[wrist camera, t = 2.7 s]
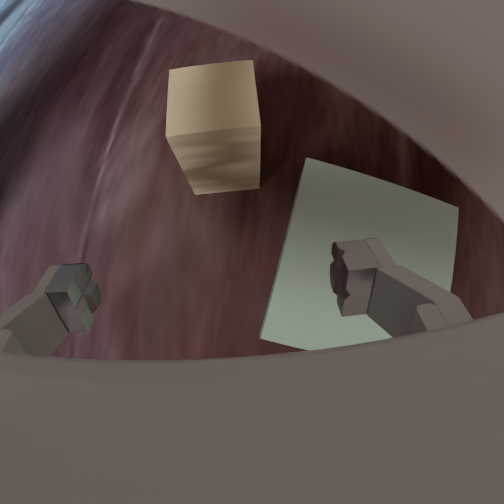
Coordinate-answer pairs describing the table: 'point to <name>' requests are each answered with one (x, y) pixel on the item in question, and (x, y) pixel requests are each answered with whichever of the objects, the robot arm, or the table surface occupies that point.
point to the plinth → (344, 229)
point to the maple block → (215, 126)
